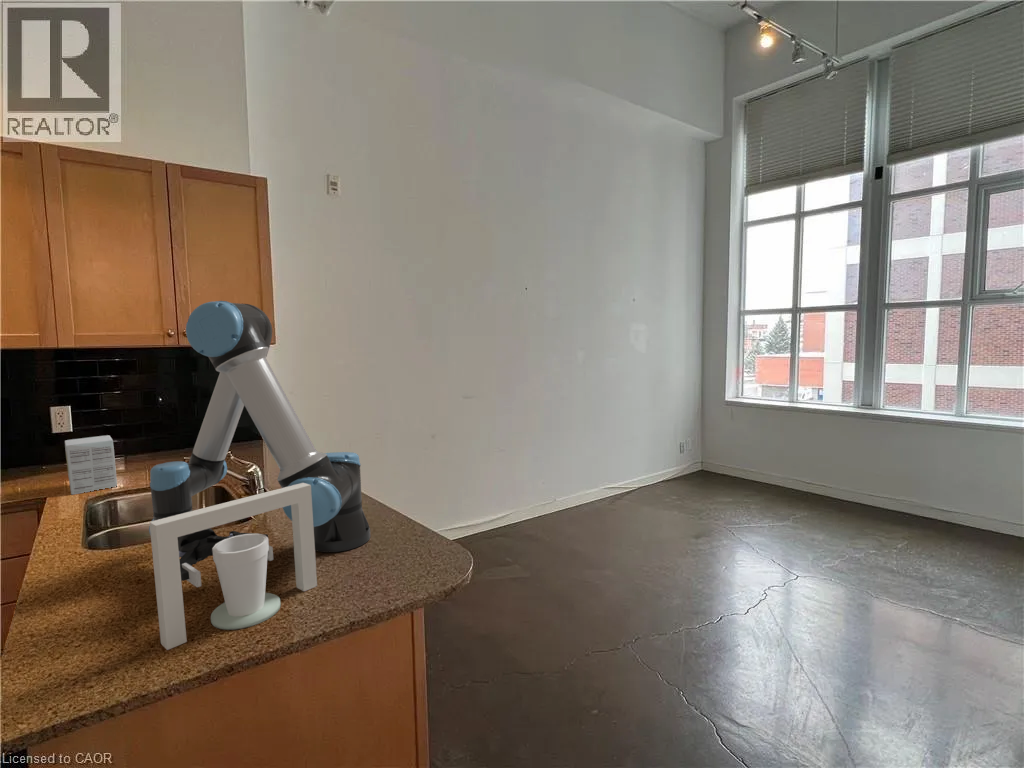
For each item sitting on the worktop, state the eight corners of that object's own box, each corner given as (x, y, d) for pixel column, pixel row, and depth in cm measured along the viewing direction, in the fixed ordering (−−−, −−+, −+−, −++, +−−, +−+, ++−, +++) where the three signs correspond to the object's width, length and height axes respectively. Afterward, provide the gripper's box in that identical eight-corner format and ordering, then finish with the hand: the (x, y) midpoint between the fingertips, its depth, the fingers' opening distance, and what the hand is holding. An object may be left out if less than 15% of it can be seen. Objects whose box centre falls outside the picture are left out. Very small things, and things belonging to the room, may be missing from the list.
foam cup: (280, 594, 106) (276, 532, 104) (260, 619, 97) (255, 552, 95) (233, 596, 105) (227, 534, 104) (208, 622, 96) (202, 554, 95)
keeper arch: (298, 576, 116) (292, 479, 113) (329, 592, 108) (322, 488, 106) (152, 634, 94) (140, 516, 92) (177, 660, 86) (165, 531, 84)
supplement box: (69, 487, 189) (64, 440, 187) (114, 480, 198) (110, 434, 196) (70, 495, 179) (65, 445, 178) (118, 487, 188) (113, 439, 186)
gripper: (250, 538, 124) (298, 561, 111) (125, 579, 105) (165, 612, 92) (248, 508, 123) (296, 527, 110) (121, 543, 104) (161, 571, 91)
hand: (236, 566), depth 101 cm, fingers open, 13 cm apart
